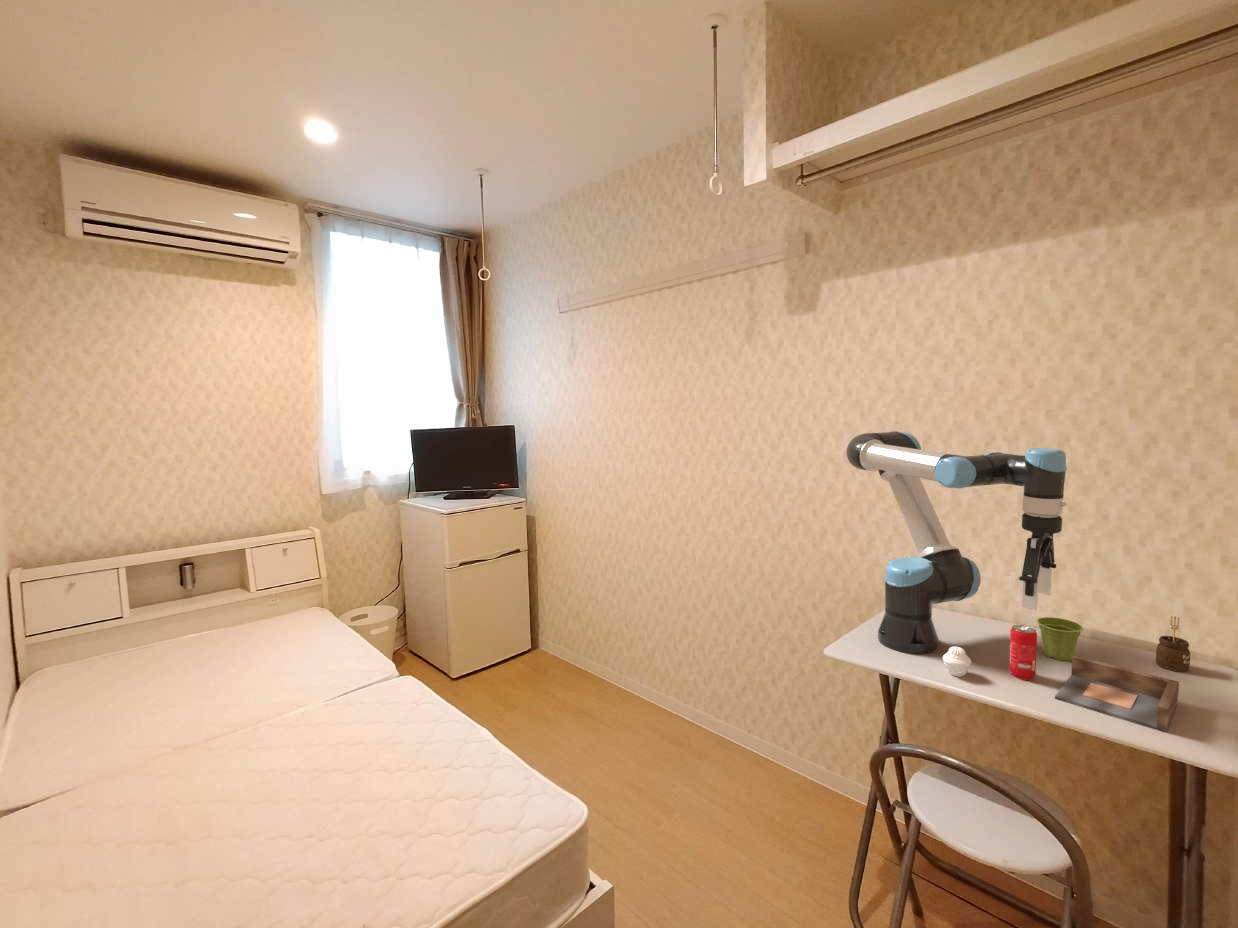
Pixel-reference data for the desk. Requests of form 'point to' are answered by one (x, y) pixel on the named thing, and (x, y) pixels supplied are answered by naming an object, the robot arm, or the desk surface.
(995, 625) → the desk surface
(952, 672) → the muffin
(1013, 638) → the beverage can
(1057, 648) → the plant pot
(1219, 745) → the desk surface
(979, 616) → the desk surface
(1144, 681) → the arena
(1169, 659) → the utensil holder
